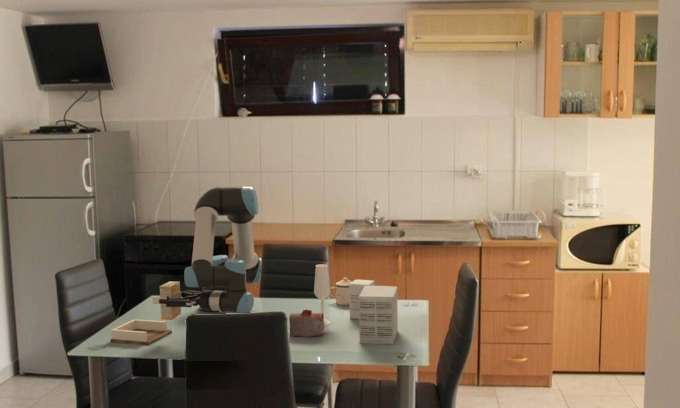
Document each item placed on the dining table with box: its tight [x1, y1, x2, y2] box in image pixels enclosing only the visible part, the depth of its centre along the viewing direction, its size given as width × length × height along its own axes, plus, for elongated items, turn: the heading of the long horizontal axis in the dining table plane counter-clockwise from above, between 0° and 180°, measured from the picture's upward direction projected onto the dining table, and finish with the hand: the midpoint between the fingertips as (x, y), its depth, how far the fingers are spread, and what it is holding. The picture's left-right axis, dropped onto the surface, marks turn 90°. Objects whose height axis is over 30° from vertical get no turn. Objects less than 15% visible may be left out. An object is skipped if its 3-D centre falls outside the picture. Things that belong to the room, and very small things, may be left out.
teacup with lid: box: [329, 277, 353, 306], centre depth 315 cm, size 12×9×12 cm
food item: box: [288, 309, 325, 338], centre depth 268 cm, size 14×8×10 cm, turn 88°
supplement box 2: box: [348, 279, 376, 320], centre depth 292 cm, size 9×9×15 cm
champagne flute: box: [313, 263, 331, 326], centre depth 283 cm, size 7×7×24 cm
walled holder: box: [110, 318, 173, 346], centre depth 269 cm, size 17×16×4 cm
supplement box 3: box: [358, 285, 398, 345], centre depth 263 cm, size 17×13×18 cm
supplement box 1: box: [159, 280, 182, 321], centre depth 263 cm, size 8×5×13 cm, turn 168°
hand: (159, 297), depth 265 cm, fingers closed on supplement box 1, 8 cm apart
